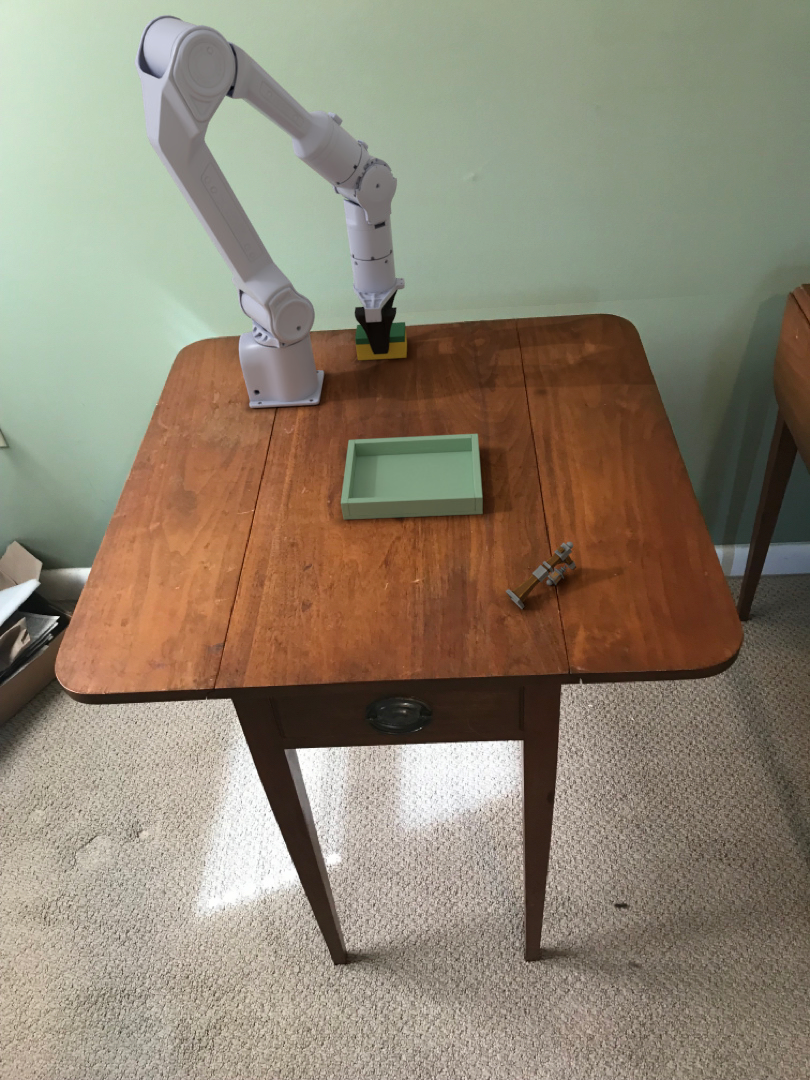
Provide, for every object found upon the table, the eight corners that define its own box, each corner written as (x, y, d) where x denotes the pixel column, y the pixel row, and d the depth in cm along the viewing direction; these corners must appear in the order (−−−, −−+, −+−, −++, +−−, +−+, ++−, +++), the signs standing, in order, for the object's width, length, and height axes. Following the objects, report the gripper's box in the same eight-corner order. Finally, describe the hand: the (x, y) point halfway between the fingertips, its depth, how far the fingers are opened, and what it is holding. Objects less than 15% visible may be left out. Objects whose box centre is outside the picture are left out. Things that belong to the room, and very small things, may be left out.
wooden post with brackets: (587, 564, 77) (576, 543, 74) (529, 619, 77) (516, 601, 74) (574, 554, 78) (563, 533, 75) (518, 608, 78) (504, 589, 75)
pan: (343, 519, 86) (340, 503, 85) (351, 455, 95) (348, 439, 93) (482, 514, 85) (482, 497, 84) (478, 450, 94) (477, 433, 92)
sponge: (357, 360, 111) (354, 338, 108) (359, 346, 114) (356, 324, 111) (406, 357, 110) (404, 335, 108) (407, 343, 113) (405, 321, 111)
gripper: (400, 274, 96) (408, 368, 105) (403, 226, 106) (410, 316, 116) (344, 277, 96) (357, 371, 106) (352, 230, 107) (363, 319, 116)
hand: (381, 343), depth 111 cm, fingers open, 5 cm apart
